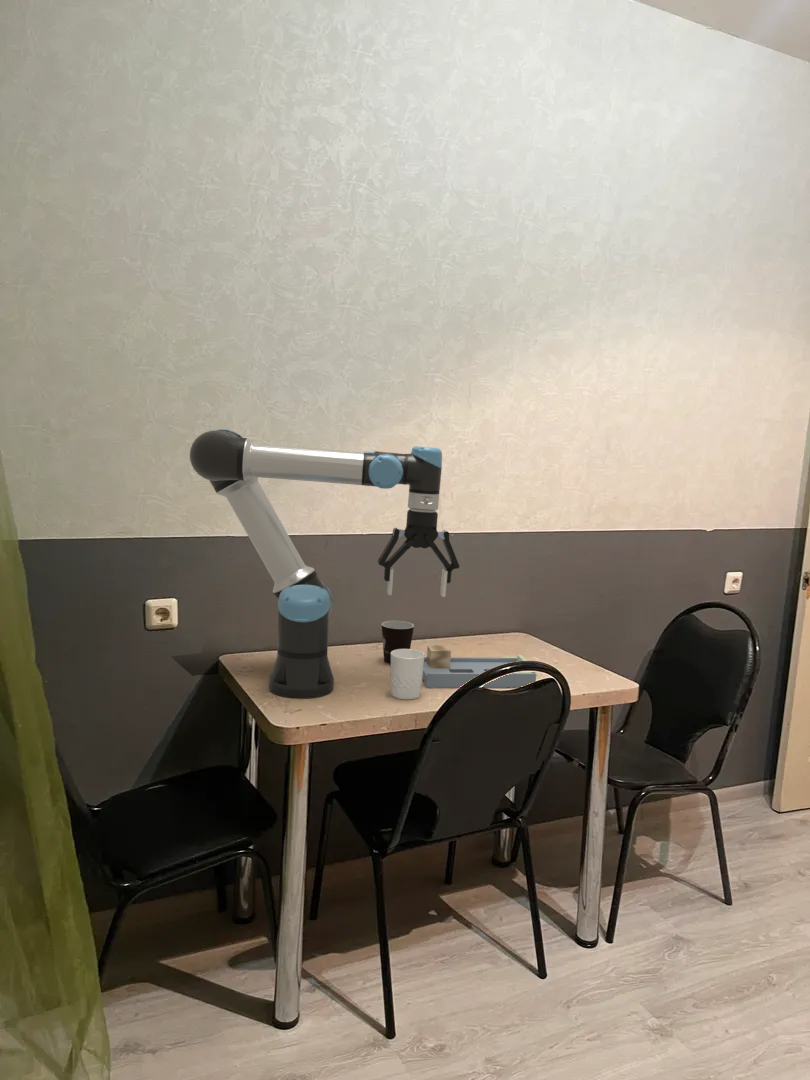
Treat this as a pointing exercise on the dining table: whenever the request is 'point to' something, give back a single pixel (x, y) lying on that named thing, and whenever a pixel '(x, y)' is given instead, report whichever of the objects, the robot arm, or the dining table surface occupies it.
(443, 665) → the block
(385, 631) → the coffee mug
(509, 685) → the box
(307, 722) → the dining table surface
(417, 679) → the white cup
